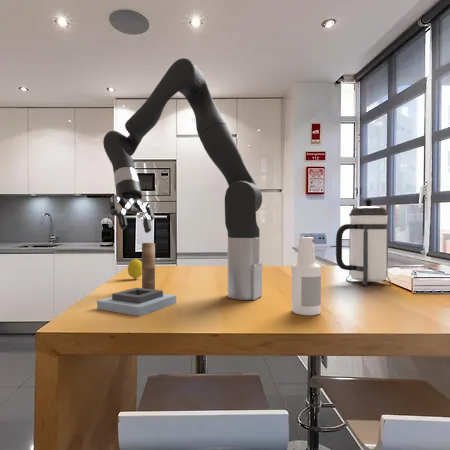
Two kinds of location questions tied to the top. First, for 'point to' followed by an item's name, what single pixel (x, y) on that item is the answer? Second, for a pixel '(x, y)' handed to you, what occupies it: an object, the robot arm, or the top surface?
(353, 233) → the coffee press
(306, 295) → the spray bottle
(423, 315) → the top surface
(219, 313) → the top surface
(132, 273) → the lemon
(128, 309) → the socket
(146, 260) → the peg
